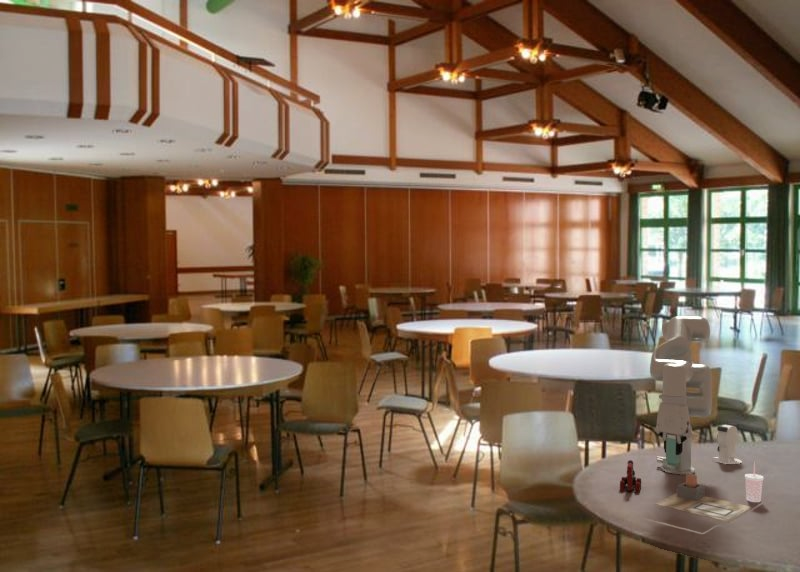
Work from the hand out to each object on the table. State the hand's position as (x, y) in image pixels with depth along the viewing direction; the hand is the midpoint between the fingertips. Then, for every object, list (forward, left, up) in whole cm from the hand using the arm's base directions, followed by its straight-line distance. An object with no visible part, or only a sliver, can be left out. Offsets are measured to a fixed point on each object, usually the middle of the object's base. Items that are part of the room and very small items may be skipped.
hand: (673, 452), depth 279 cm
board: (+9, +5, -18) cm, 21 cm away
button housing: (+2, +11, -18) cm, 21 cm away
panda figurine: (-9, +69, -18) cm, 72 cm away
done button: (+2, +11, -15) cm, 19 cm away
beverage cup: (+19, +23, -18) cm, 35 cm away
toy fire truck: (-18, +5, -18) cm, 26 cm away
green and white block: (0, 0, -4) cm, 4 cm away
